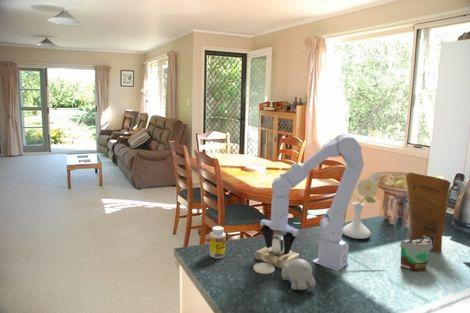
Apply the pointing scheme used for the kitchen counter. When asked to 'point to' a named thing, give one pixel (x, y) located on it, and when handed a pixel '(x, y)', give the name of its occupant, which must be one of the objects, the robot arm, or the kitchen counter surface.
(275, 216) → the robot arm
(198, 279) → the kitchen counter surface
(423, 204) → the pancake mix bag
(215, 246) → the supplement bottle
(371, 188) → the flower in vase
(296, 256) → the beige flat block
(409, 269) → the food container
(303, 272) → the round bodied animal figurine
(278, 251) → the end plug
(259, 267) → the coaster
